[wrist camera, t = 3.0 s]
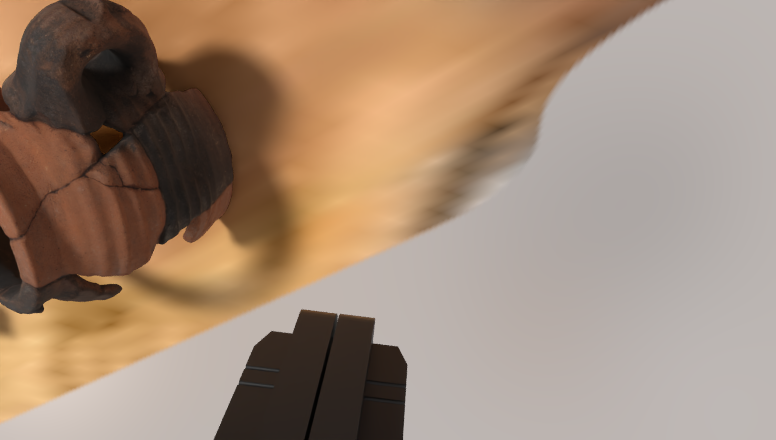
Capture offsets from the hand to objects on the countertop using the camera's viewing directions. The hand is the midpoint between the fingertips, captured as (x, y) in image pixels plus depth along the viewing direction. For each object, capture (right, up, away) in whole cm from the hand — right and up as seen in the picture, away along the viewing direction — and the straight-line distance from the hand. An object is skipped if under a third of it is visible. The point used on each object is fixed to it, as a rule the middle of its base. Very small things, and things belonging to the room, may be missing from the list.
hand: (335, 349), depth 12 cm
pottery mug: (-10, +6, +12) cm, 17 cm away
